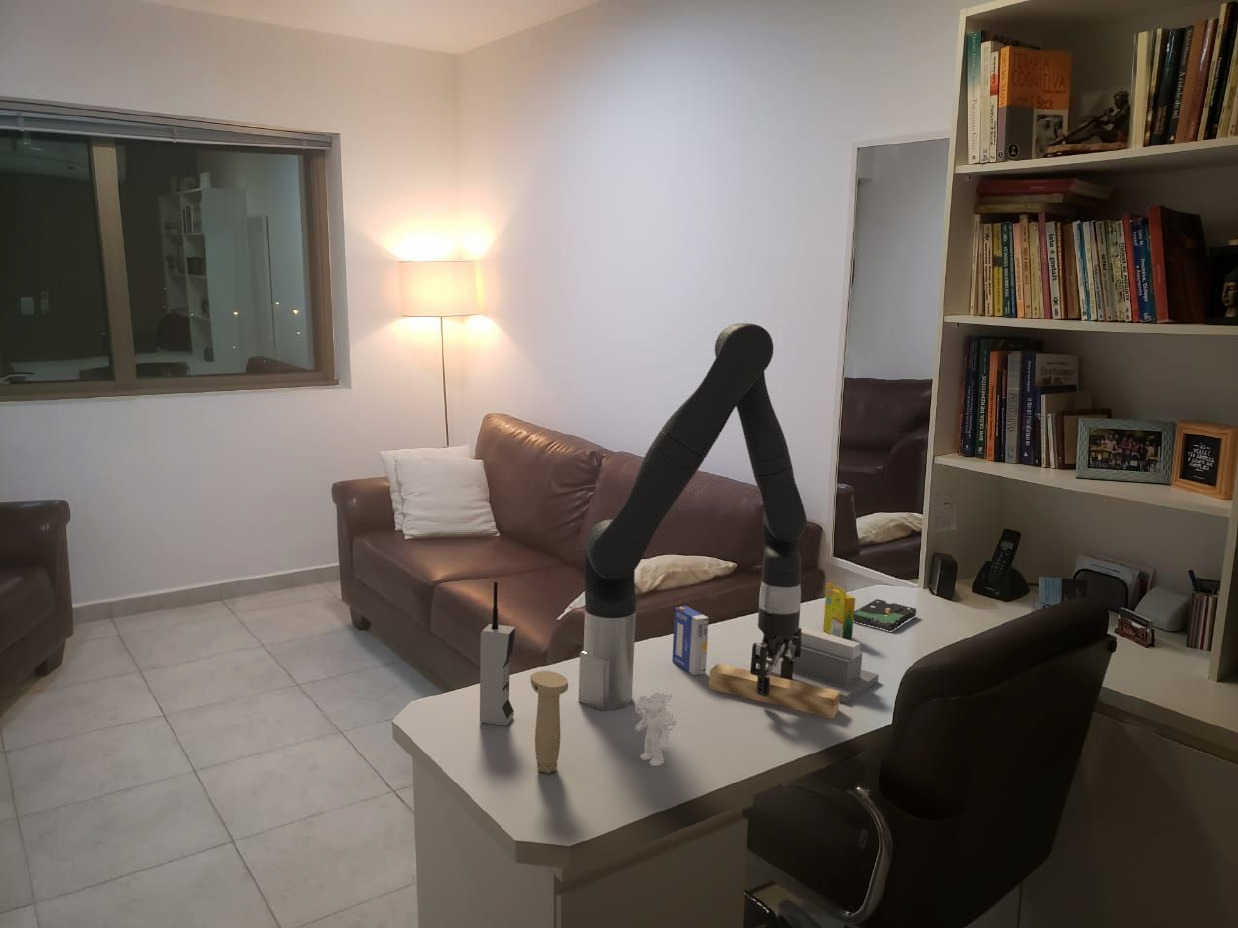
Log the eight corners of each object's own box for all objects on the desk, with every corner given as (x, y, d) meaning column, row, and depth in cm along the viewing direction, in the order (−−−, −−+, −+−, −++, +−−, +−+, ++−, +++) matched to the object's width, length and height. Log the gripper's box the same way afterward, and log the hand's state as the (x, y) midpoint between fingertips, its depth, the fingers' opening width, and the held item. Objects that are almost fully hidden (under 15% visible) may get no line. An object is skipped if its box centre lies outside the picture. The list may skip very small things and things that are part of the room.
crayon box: (852, 640, 205) (856, 590, 203) (841, 641, 204) (845, 591, 202) (833, 629, 212) (837, 580, 210) (822, 630, 211) (826, 581, 209)
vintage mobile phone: (507, 726, 158) (509, 586, 154) (479, 723, 159) (481, 583, 155) (514, 717, 162) (516, 580, 157) (486, 713, 163) (488, 577, 158)
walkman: (672, 661, 189) (674, 605, 187) (683, 659, 191) (686, 604, 188) (694, 675, 182) (697, 618, 180) (706, 673, 184) (709, 615, 182)
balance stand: (845, 703, 172) (849, 657, 171) (762, 675, 184) (765, 632, 182) (878, 681, 183) (882, 638, 181) (797, 656, 194) (800, 615, 193)
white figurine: (678, 768, 146) (682, 697, 144) (658, 774, 144) (662, 702, 142) (646, 744, 154) (649, 676, 151) (626, 750, 151) (629, 681, 149)
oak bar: (838, 711, 170) (840, 691, 169) (832, 720, 166) (834, 699, 166) (716, 682, 181) (717, 663, 180) (708, 689, 177) (709, 670, 176)
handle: (547, 756, 148) (550, 668, 146) (571, 773, 144) (574, 682, 141) (522, 765, 145) (524, 675, 143) (545, 782, 141) (548, 689, 138)
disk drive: (875, 609, 229) (849, 623, 217) (876, 598, 228) (850, 612, 217) (916, 619, 223) (892, 634, 211) (917, 608, 222) (893, 622, 211)
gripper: (781, 591, 178) (776, 671, 181) (741, 609, 167) (736, 693, 170) (816, 600, 173) (810, 682, 176) (777, 619, 162) (772, 706, 165)
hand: (774, 687), depth 173 cm, fingers open, 8 cm apart
